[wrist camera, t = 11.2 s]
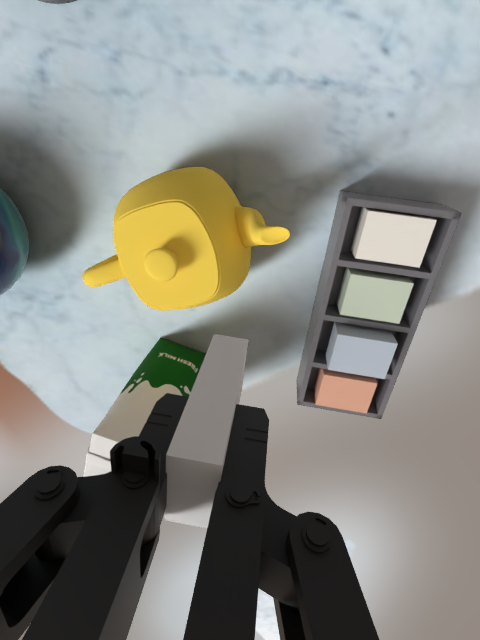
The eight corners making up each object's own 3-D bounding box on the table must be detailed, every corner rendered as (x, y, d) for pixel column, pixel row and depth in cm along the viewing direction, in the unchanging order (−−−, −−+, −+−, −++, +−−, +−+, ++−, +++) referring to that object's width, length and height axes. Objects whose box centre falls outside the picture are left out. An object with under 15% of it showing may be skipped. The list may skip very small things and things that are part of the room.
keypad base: (340, 190, 36) (347, 197, 32) (440, 204, 36) (461, 213, 31) (296, 379, 47) (297, 404, 43) (372, 392, 47) (381, 418, 42)
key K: (334, 321, 39) (337, 334, 36) (390, 329, 38) (397, 343, 36) (325, 354, 41) (327, 369, 38) (378, 363, 40) (384, 379, 38)
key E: (321, 359, 42) (323, 374, 40) (372, 368, 42) (377, 383, 39) (313, 389, 45) (315, 404, 42) (362, 397, 44) (366, 413, 41)
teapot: (303, 264, 40) (308, 311, 29) (146, 302, 45) (99, 354, 34) (274, 137, 35) (266, 135, 24) (99, 194, 39) (25, 215, 28)
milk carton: (142, 379, 51) (62, 508, 33) (156, 328, 46) (72, 443, 29) (200, 400, 51) (152, 538, 33) (219, 351, 47) (175, 479, 29)
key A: (362, 205, 34) (368, 210, 32) (425, 213, 34) (436, 220, 31) (350, 249, 36) (355, 258, 34) (410, 258, 36) (419, 267, 33)
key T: (346, 264, 37) (351, 274, 34) (404, 273, 37) (413, 283, 34) (336, 302, 39) (339, 314, 36) (391, 311, 39) (399, 323, 36)
